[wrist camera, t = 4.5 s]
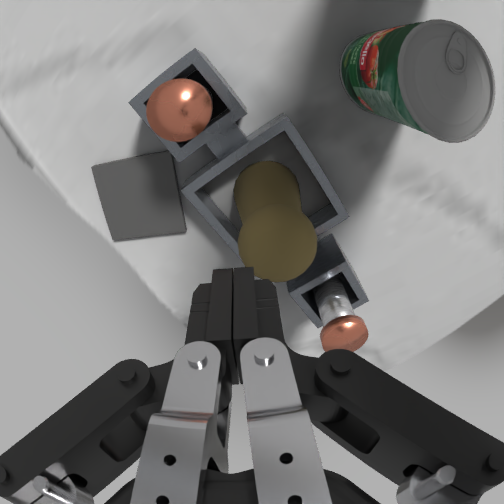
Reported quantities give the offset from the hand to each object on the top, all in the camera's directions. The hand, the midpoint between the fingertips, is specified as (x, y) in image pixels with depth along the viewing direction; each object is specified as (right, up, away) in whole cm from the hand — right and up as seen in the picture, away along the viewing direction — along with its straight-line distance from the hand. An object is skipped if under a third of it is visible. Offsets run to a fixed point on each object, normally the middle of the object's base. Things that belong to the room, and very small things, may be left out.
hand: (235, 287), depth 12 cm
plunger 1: (-4, +13, +11) cm, 18 cm away
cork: (+2, +7, +16) cm, 18 cm away
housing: (+2, +7, +16) cm, 18 cm away
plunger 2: (+8, -2, +18) cm, 20 cm away
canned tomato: (+12, +17, +10) cm, 23 cm away
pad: (-10, +7, +16) cm, 20 cm away
